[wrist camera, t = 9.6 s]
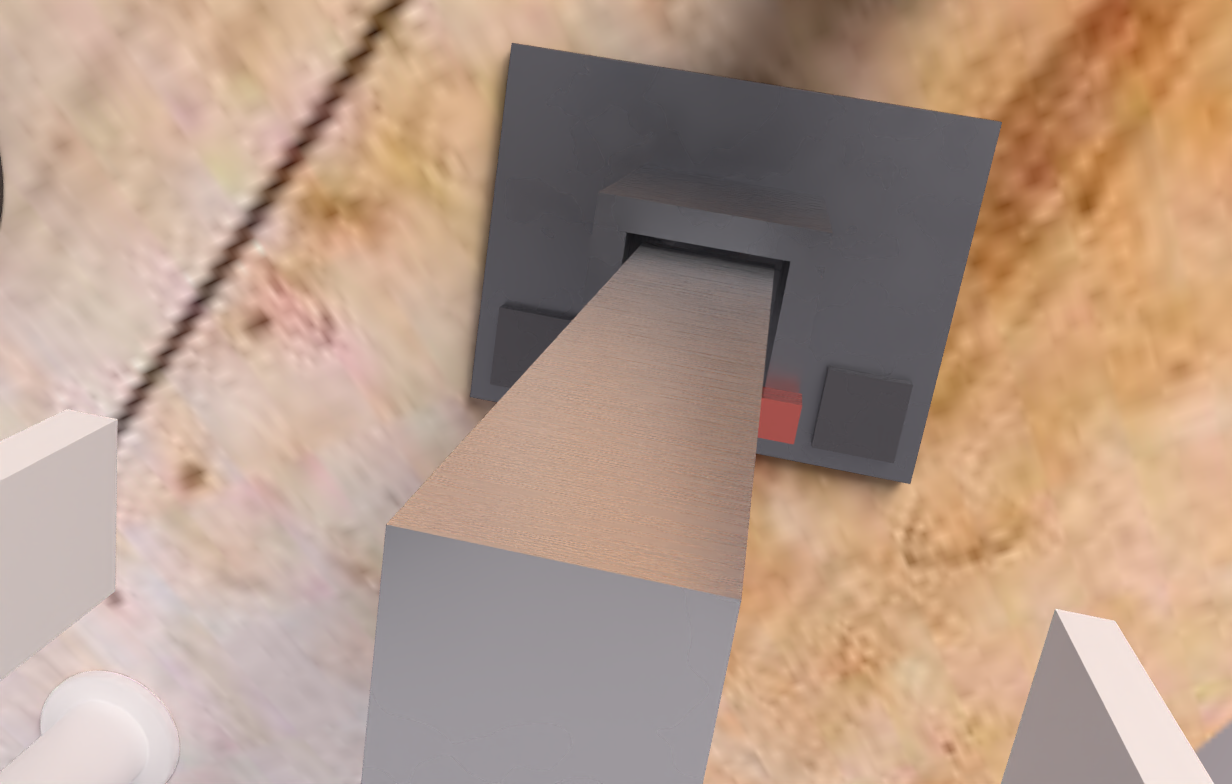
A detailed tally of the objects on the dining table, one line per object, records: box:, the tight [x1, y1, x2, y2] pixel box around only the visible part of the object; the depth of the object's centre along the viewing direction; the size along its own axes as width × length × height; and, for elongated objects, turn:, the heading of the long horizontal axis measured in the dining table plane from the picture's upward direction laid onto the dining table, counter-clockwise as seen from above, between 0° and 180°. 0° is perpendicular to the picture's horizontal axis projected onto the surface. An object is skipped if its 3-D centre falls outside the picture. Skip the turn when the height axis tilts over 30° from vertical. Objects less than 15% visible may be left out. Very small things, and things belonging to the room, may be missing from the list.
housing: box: [470, 43, 1002, 484], centre depth 37 cm, size 18×14×12 cm
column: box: [361, 241, 775, 784], centre depth 23 cm, size 4×5×22 cm
